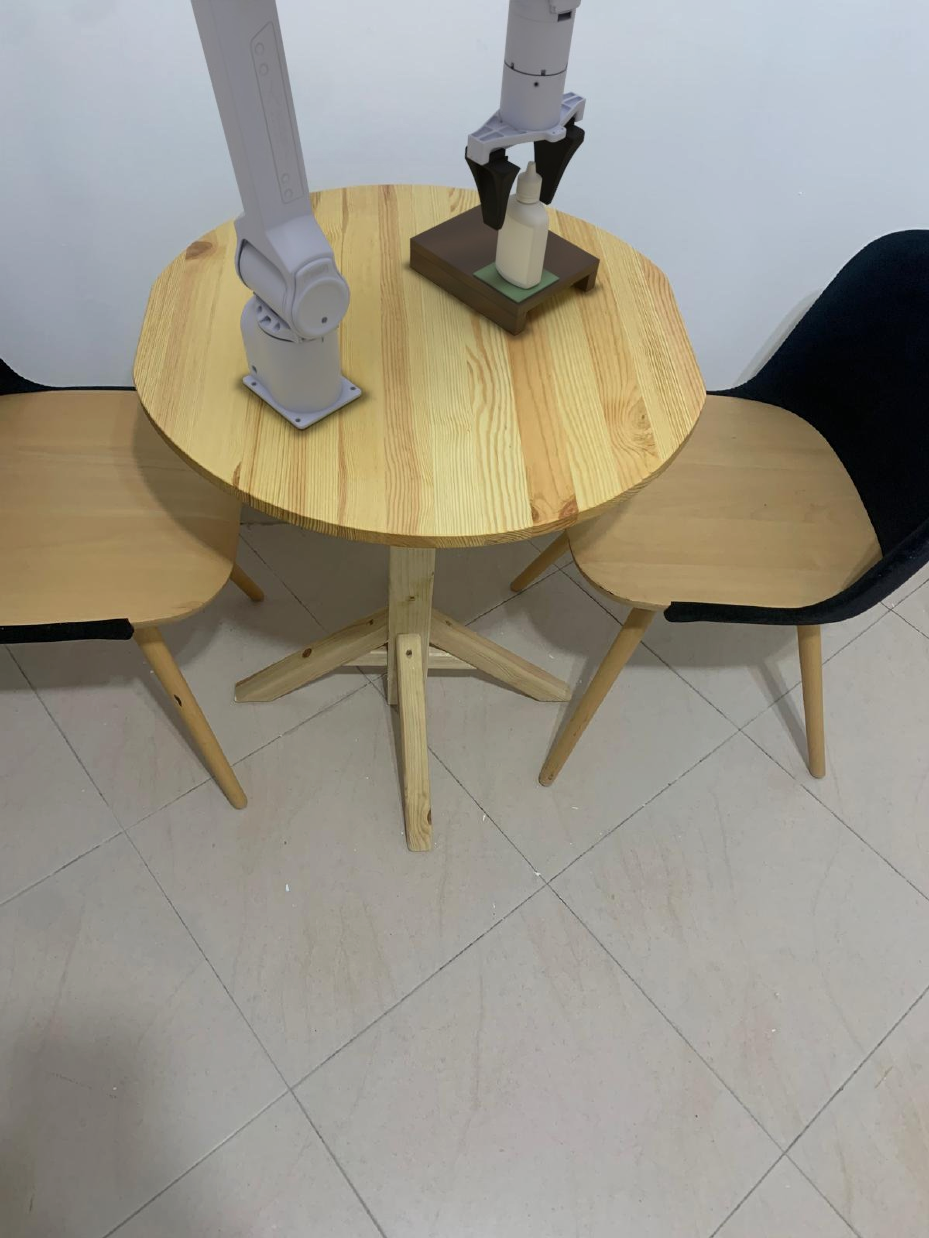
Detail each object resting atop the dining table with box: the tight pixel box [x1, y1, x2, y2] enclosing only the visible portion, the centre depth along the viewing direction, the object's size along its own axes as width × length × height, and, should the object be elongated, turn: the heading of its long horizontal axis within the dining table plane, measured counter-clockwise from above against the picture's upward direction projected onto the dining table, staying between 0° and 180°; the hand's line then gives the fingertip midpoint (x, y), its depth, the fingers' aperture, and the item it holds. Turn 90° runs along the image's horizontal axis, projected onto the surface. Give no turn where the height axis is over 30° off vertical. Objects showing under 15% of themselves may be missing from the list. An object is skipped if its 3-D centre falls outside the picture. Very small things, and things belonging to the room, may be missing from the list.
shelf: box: [409, 203, 601, 336], centre depth 90 cm, size 17×14×4 cm
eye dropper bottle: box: [495, 160, 550, 289], centre depth 80 cm, size 4×6×12 cm
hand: (517, 213), depth 80 cm, fingers open, 7 cm apart
